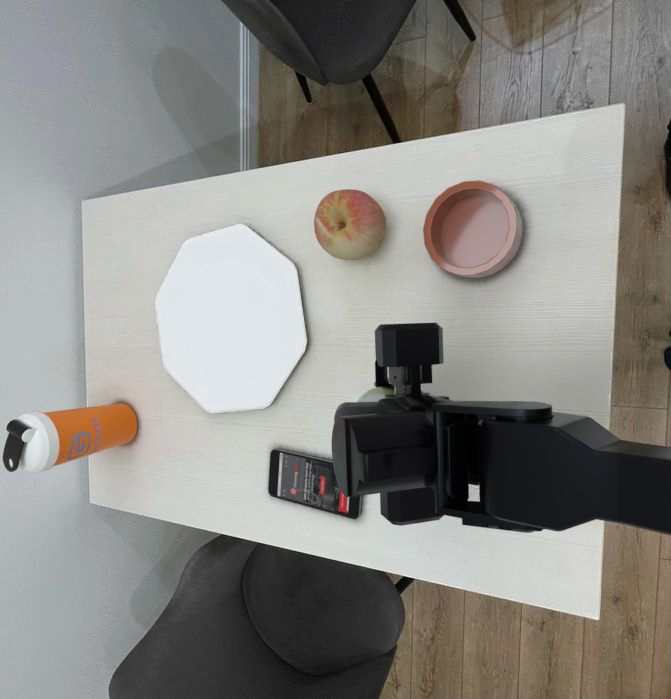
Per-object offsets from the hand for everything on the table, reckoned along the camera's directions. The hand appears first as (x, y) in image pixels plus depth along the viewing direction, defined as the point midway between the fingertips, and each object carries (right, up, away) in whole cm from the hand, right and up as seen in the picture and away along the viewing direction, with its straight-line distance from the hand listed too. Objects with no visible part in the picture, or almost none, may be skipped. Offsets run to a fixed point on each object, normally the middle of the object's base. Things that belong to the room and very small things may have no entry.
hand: (379, 409), depth 59 cm
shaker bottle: (-42, -6, +36) cm, 56 cm away
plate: (-21, +11, +24) cm, 34 cm away
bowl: (+12, +21, +6) cm, 25 cm away
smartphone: (-8, -12, +18) cm, 24 cm away
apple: (-1, +23, +13) cm, 26 cm away
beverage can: (+4, 0, +5) cm, 7 cm away
